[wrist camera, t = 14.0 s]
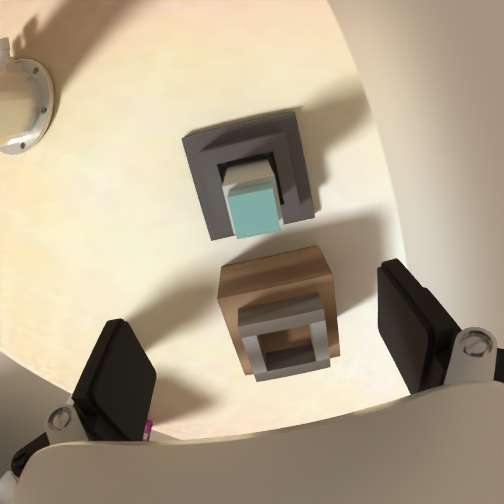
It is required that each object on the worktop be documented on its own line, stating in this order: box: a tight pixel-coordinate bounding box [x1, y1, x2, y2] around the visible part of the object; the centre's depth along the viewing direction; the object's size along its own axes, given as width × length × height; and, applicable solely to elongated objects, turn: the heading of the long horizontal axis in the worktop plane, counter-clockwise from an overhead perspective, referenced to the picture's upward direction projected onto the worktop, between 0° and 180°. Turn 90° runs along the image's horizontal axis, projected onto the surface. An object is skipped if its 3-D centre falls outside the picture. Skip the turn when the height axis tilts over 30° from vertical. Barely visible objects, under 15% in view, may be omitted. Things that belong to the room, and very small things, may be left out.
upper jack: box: [217, 246, 340, 382], centre depth 36 cm, size 12×12×10 cm
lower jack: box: [182, 112, 315, 241], centre depth 32 cm, size 12×12×4 cm
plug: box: [222, 156, 284, 239], centre depth 28 cm, size 4×4×12 cm
